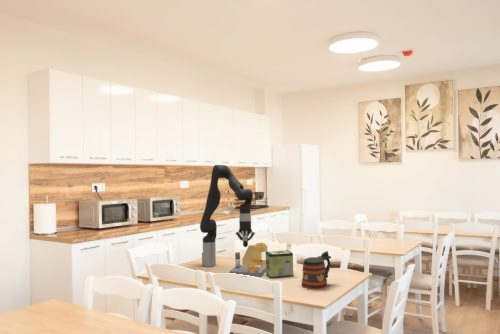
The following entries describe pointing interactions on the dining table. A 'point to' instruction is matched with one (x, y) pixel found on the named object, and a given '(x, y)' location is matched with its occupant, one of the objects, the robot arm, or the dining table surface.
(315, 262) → the beer stein
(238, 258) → the awl
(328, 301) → the dining table surface
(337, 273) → the dining table surface
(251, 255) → the tan lumpy shape
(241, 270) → the subfloor board
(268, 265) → the protein box
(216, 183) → the robot arm
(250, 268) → the stud finder
